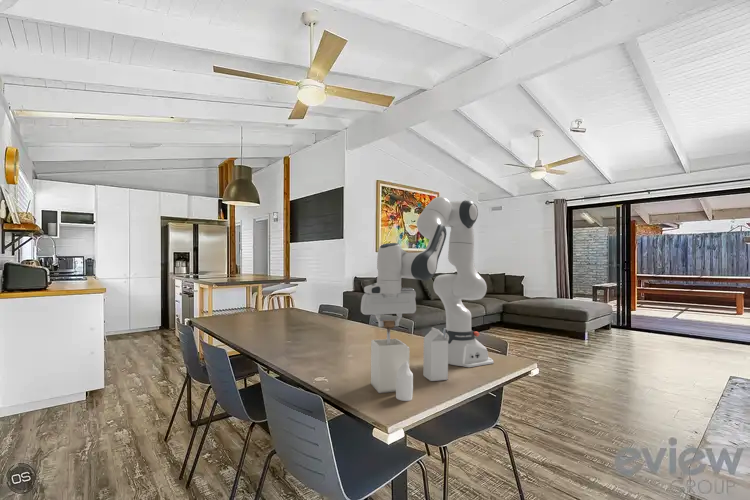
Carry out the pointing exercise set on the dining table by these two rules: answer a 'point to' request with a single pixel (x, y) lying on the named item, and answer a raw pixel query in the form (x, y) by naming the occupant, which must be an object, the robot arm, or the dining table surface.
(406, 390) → the white bottle
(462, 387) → the dining table surface
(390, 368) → the open-top square canister
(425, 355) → the milk carton
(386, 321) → the plunger
